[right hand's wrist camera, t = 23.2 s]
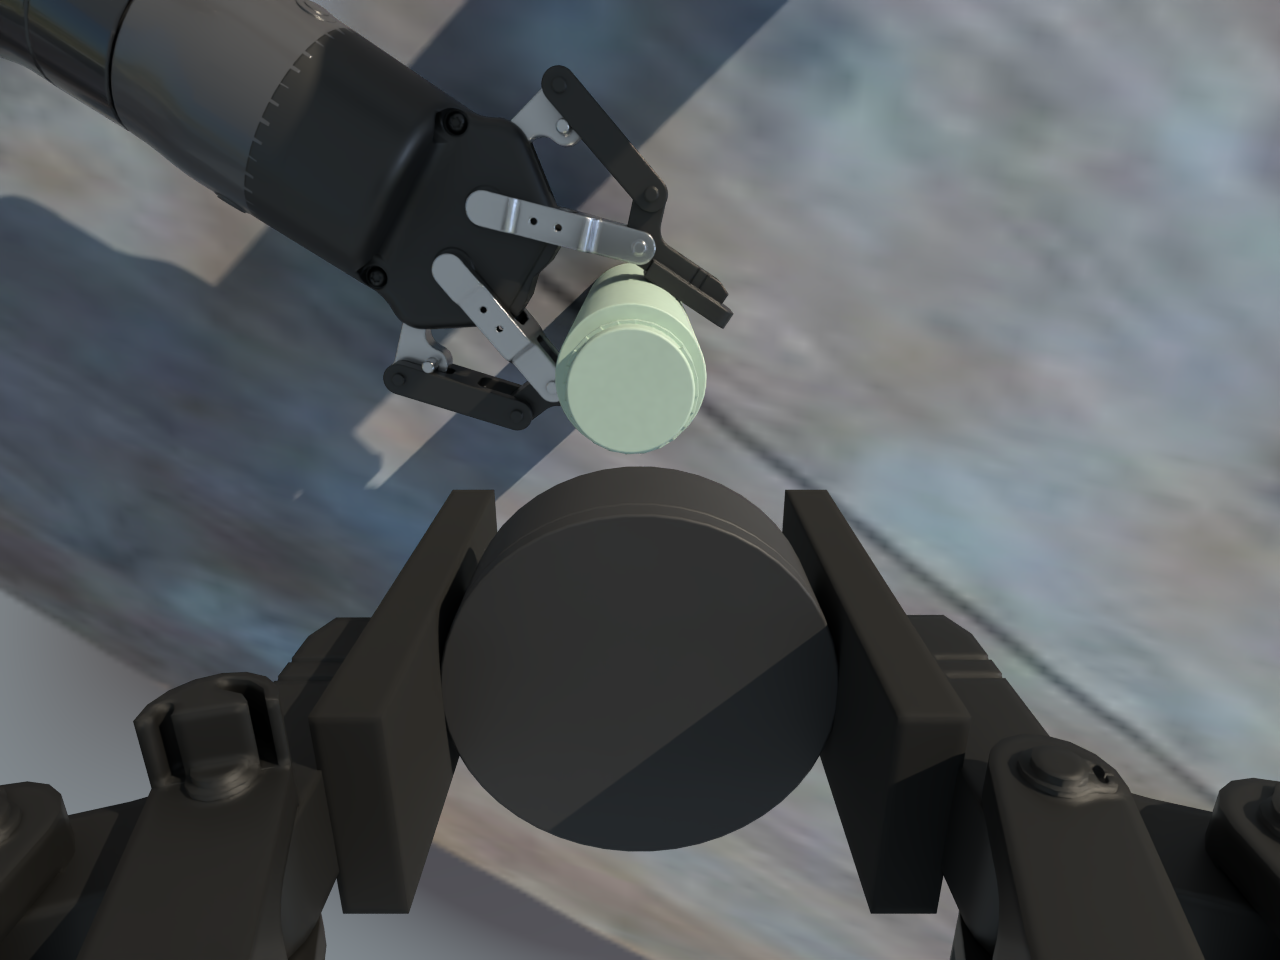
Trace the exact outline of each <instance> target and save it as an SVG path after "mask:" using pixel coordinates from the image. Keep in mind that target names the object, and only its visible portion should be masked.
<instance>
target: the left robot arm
mask: <svg viewBox="0 0 1280 960" xmlns="http://www.w3.org/2000/svg"><path fill="white" fill-rule="evenodd" d="M0 58H3V59H7V60H9V61H12V62H15V63H18V64H20V65H22V66H24V67H26V68H28V69H30V70H32V71H34V72H35V73H37V74H38V75H40V76H41V77H43V78H44V79H46V80H47V81H49V82H50V83H52V84H53V85H55V86H56V87H58V88H59V89H61V90H63V91H64V92H66V93H68V94H69V95H71V96H72V97H74V98H76V99H77V100H79V101H80V102H82V103H84V104H85V105H87V106H89V107H90V108H92V109H93V110H95V111H97V112H98V113H100V114H102V115H103V116H105V117H106V118H108V119H110V120H111V121H113V122H115V123H116V124H118V125H119V126H121V127H123V128H124V129H126V130H128V131H130V132H131V133H133V134H134V135H135V136H137V137H138V138H140V139H141V140H143V141H144V142H146V143H147V144H148V145H150V146H151V147H152V148H154V149H155V150H156V151H158V152H159V153H160V154H161V155H163V156H164V157H165V158H166V159H167V160H169V161H170V162H171V163H172V164H174V165H175V166H176V167H178V168H179V169H180V170H181V171H183V172H184V173H185V174H187V175H188V176H190V177H191V178H193V179H194V180H196V181H197V182H199V183H200V184H202V185H204V186H205V187H207V188H208V189H210V190H212V191H213V192H214V193H215V194H216V195H218V196H217V197H218V198H220V199H221V200H223V201H224V202H226V203H228V204H229V205H231V206H233V207H234V208H236V209H238V210H239V211H241V212H243V213H249V214H251V215H253V216H254V217H256V218H257V219H259V220H261V221H262V222H264V223H266V224H267V225H269V226H270V227H272V228H274V229H275V230H277V231H279V232H280V233H282V234H284V235H285V236H287V237H288V238H290V239H292V240H293V241H295V242H297V243H298V244H300V245H301V246H303V247H305V248H306V249H308V250H310V251H311V252H313V253H314V254H316V255H318V256H319V257H321V258H323V259H324V260H326V261H327V262H329V263H331V264H332V265H334V266H336V267H337V268H339V269H340V270H342V271H344V272H345V273H347V274H349V275H350V276H352V277H354V278H355V279H357V280H358V281H360V282H362V283H363V284H365V285H367V286H369V287H370V288H372V289H374V290H375V291H377V292H378V293H379V294H380V295H381V296H382V297H383V298H384V299H385V300H386V301H387V302H388V304H389V305H390V307H391V308H392V310H393V312H394V313H395V315H396V316H397V317H398V318H399V319H400V320H401V321H402V322H403V325H402V329H401V334H400V339H399V343H398V348H397V352H396V357H395V361H394V363H393V364H392V365H391V366H389V367H388V368H387V369H386V370H385V372H384V376H383V380H384V384H385V386H386V387H387V388H388V389H389V390H390V391H391V392H393V393H395V394H398V395H401V396H405V397H408V398H411V399H414V400H418V401H421V402H424V403H427V404H431V405H434V406H437V407H441V408H444V409H447V410H450V411H454V412H457V413H460V414H463V415H467V416H470V417H473V418H477V419H480V420H483V421H486V422H490V423H493V424H496V425H499V426H503V427H506V428H509V429H513V430H522V429H525V428H526V427H527V426H528V425H529V424H530V422H531V420H533V419H534V418H535V417H537V416H538V415H539V414H541V413H542V412H543V411H545V410H546V409H547V408H549V407H552V406H561V404H560V402H559V399H558V395H557V391H556V385H555V370H556V363H557V359H558V355H559V352H558V350H557V349H556V348H555V347H554V346H553V344H552V343H551V342H550V341H549V339H548V338H547V337H546V336H545V334H544V333H543V331H542V328H541V327H540V325H539V324H538V323H537V321H536V320H535V319H534V318H533V316H532V315H531V314H530V313H529V312H528V310H527V309H526V308H525V307H526V306H527V304H528V302H529V301H530V299H531V297H532V295H533V294H534V290H535V287H536V283H537V279H538V276H539V273H540V272H541V271H542V270H543V269H544V268H545V267H546V266H547V265H548V264H549V263H550V262H551V261H552V260H554V258H555V256H556V254H557V253H558V251H559V249H560V248H561V246H562V247H566V248H569V249H573V250H577V251H582V252H587V253H593V254H597V255H601V256H605V257H609V258H613V259H617V260H620V261H624V262H628V263H632V264H636V265H637V266H639V267H640V268H642V269H643V270H644V271H643V273H644V277H645V278H646V279H648V280H649V281H651V282H652V283H654V284H656V285H657V286H659V287H660V288H662V289H664V290H665V291H667V292H668V293H669V294H671V295H672V296H674V297H675V298H677V299H678V300H680V301H681V302H683V303H684V304H686V305H687V306H689V307H690V308H692V309H693V310H695V311H696V312H698V313H699V314H701V315H702V316H704V317H705V318H707V319H708V320H710V321H711V322H713V323H714V324H716V325H717V326H719V327H721V328H722V329H724V327H725V326H726V324H727V323H728V321H729V320H730V318H731V317H732V315H733V312H732V311H731V310H730V309H729V308H728V307H727V306H725V305H724V304H722V303H723V302H724V300H725V299H726V297H727V296H728V293H727V291H726V290H725V288H724V287H723V285H722V284H721V282H720V281H719V280H718V279H717V278H716V277H714V276H713V275H711V274H710V273H708V272H707V271H705V270H704V269H702V268H701V267H699V266H698V265H696V264H695V263H693V262H692V261H691V260H689V259H688V258H686V257H685V256H683V255H682V254H680V253H679V252H677V251H676V250H674V249H673V248H671V247H670V246H668V245H667V244H666V243H665V242H664V241H663V239H662V236H661V231H660V227H661V222H662V217H663V213H664V209H665V204H666V201H667V198H668V191H667V187H666V185H665V184H664V182H663V181H662V180H661V179H660V177H659V176H658V175H657V174H656V173H655V171H654V170H653V169H652V168H651V167H650V165H649V164H648V163H647V162H646V161H645V159H644V158H643V157H642V156H641V155H640V153H639V152H638V151H637V150H636V149H635V147H634V146H633V145H632V144H631V143H630V141H629V140H628V139H627V138H626V137H625V135H624V134H623V133H622V132H621V131H620V129H619V128H618V127H617V126H616V125H615V123H614V122H613V121H612V120H611V119H610V117H609V116H608V115H607V114H606V113H605V111H604V110H603V109H602V108H601V107H600V105H599V104H598V103H597V102H596V101H595V99H594V98H593V97H592V96H591V95H590V93H589V92H588V91H587V90H586V89H585V87H584V86H583V85H582V84H581V83H580V81H579V80H578V79H577V78H576V77H575V75H574V74H573V73H572V72H571V71H570V70H569V69H568V68H566V67H564V66H560V65H557V66H552V67H550V68H549V69H548V70H547V71H546V72H545V73H544V75H543V78H542V83H541V84H542V88H541V89H540V90H539V92H538V93H537V94H536V95H535V96H534V97H533V98H532V99H531V100H530V101H529V102H528V103H527V104H526V105H525V106H524V107H523V108H522V109H521V110H520V111H519V113H518V114H517V115H516V116H515V117H514V118H513V119H512V120H511V121H509V120H507V119H504V118H494V117H485V116H481V115H478V114H476V113H474V112H473V111H471V110H470V109H468V108H467V107H465V106H464V105H462V104H461V103H459V102H458V101H456V100H455V99H453V98H452V97H450V96H449V95H447V94H446V93H445V92H443V91H442V90H440V89H439V88H437V87H436V86H434V85H433V84H431V83H430V82H428V81H427V80H425V79H424V78H423V77H421V76H420V75H418V74H417V73H415V72H414V71H412V70H411V69H409V68H408V67H406V66H405V65H403V64H402V63H401V62H399V61H398V60H396V59H395V58H393V57H392V56H390V55H389V54H387V53H386V52H384V51H383V50H381V49H380V48H379V47H377V46H376V45H374V44H373V43H371V42H370V41H368V40H367V39H365V38H364V37H362V36H361V35H359V34H358V33H357V32H355V31H354V30H352V29H351V28H349V27H348V26H346V25H345V24H343V23H342V22H340V21H339V20H337V19H336V18H335V17H333V16H332V15H331V14H330V13H329V12H328V11H327V10H326V9H324V8H323V7H321V6H320V5H318V4H316V3H314V2H312V1H310V0H0ZM541 137H547V138H550V139H552V140H553V141H554V142H555V143H557V144H558V145H560V146H563V147H572V146H574V145H576V144H577V143H578V142H579V141H580V140H581V139H582V140H583V141H584V143H585V144H586V145H587V146H588V147H589V148H590V150H591V151H592V152H593V153H594V154H595V155H596V157H597V158H598V159H599V160H600V161H601V162H602V164H603V165H604V166H605V167H606V168H607V170H608V171H609V172H610V173H611V174H612V175H613V177H614V178H615V179H616V180H617V181H618V182H619V184H620V185H621V186H622V187H623V188H624V189H625V191H626V192H627V193H628V194H629V195H630V196H631V198H632V199H633V202H632V207H631V211H630V216H629V221H628V225H627V224H623V223H619V222H616V221H612V220H608V219H604V218H601V217H598V216H594V215H591V214H587V213H583V212H579V211H576V210H572V209H568V208H564V207H560V206H557V204H556V201H555V199H554V196H553V194H552V191H551V189H550V186H549V184H548V181H547V179H546V176H545V174H544V171H543V169H542V166H541V164H540V161H539V159H538V156H537V154H536V151H535V149H534V146H533V144H532V142H533V141H534V140H536V139H537V138H541ZM499 326H501V328H502V329H503V330H500V329H499ZM461 327H478V328H479V329H480V330H481V332H482V333H483V334H484V335H485V336H486V337H487V339H488V340H489V341H490V342H491V343H492V344H493V346H494V347H495V348H496V349H497V350H498V351H499V353H500V354H501V355H502V356H503V357H504V358H505V359H506V360H507V361H509V362H511V363H512V364H514V365H515V366H516V367H517V369H518V370H519V371H520V372H521V373H522V374H523V376H524V377H525V378H526V379H527V380H528V381H527V382H526V383H525V384H523V385H519V384H516V383H513V382H510V381H506V380H503V379H500V378H497V377H494V376H490V375H487V374H484V373H481V372H478V371H474V370H471V369H468V368H465V367H462V366H458V365H455V364H452V363H453V358H452V355H451V353H450V351H449V350H448V349H447V348H446V347H444V346H442V345H440V344H438V343H437V342H436V341H435V340H434V338H433V336H432V334H431V329H442V328H461Z"/></svg>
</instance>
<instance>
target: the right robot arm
mask: <svg viewBox="0 0 1280 960" xmlns="http://www.w3.org/2000/svg"><path fill="white" fill-rule="evenodd" d="M782 533H783V534H784V536H785V537H786V538H787V540H788V541H789V542H790V544H791V546H792V548H793V550H794V551H795V553H796V555H797V557H798V558H799V560H800V563H801V565H802V567H803V569H804V572H805V574H806V576H807V578H808V581H809V583H810V585H811V588H812V590H813V592H814V594H815V597H816V599H817V601H818V603H819V606H820V608H821V610H822V612H823V615H824V617H825V619H826V622H827V625H828V627H829V630H830V632H831V635H832V638H833V640H834V644H835V649H836V654H837V659H838V664H839V680H838V691H837V701H836V710H835V718H834V722H833V726H832V730H831V732H830V734H829V737H828V739H827V741H826V744H825V746H824V748H823V751H822V752H821V754H820V757H821V760H822V764H823V767H824V770H825V773H826V776H827V779H828V782H829V785H830V788H831V791H832V795H833V798H834V801H835V804H836V807H837V810H838V813H839V816H840V819H841V822H842V826H843V829H844V832H845V835H846V838H847V841H848V844H849V847H850V850H851V853H852V857H853V860H854V863H855V866H856V869H857V872H858V875H859V878H860V881H861V884H862V888H863V891H864V894H865V897H866V900H867V903H868V906H869V909H870V912H871V914H936V913H937V908H938V902H939V897H940V891H941V886H942V880H943V875H944V878H945V880H946V882H947V884H948V886H949V889H950V891H951V893H952V895H953V898H954V900H955V902H956V904H957V907H958V909H959V915H958V920H957V925H956V930H955V935H954V941H953V946H952V951H951V956H950V960H1280V782H1278V781H1271V780H1264V779H1257V778H1249V779H1242V780H1234V781H1231V782H1229V783H1228V784H1227V785H1226V786H1225V787H1223V788H1222V789H1221V790H1220V791H1219V794H1218V797H1217V800H1216V803H1215V806H1214V809H1213V812H1210V811H1205V810H1201V809H1196V808H1192V807H1187V806H1182V805H1178V804H1173V803H1169V802H1164V801H1159V800H1155V799H1150V798H1147V797H1143V796H1140V795H1136V794H1133V793H1131V792H1130V790H1129V788H1128V786H1127V785H1126V783H1125V782H1124V781H1123V779H1122V778H1121V776H1120V775H1119V774H1118V772H1117V771H1116V770H1115V769H1114V768H1113V767H1111V766H1110V765H1109V764H1107V763H1106V762H1105V761H1103V760H1102V759H1101V758H1100V757H1098V756H1097V755H1096V754H1094V753H1092V752H1090V751H1088V750H1086V749H1083V748H1081V747H1079V746H1077V745H1075V744H1073V743H1071V742H1068V741H1064V740H1060V739H1057V738H1053V737H1050V736H1049V735H1048V734H1047V732H1046V731H1045V730H1044V728H1043V727H1042V726H1041V724H1040V723H1039V722H1038V721H1037V719H1036V718H1035V717H1034V715H1033V714H1032V713H1031V711H1030V710H1029V709H1028V707H1027V706H1026V705H1025V703H1024V702H1023V701H1022V699H1021V698H1020V697H1019V696H1018V694H1017V693H1016V692H1015V690H1014V689H1013V688H1012V686H1011V685H1010V684H1009V682H1008V681H1007V680H1006V678H1002V673H1001V672H1000V671H999V669H998V668H997V667H996V665H995V664H994V663H993V661H992V660H988V655H987V653H986V652H985V651H984V650H983V648H982V647H981V646H980V644H979V643H978V642H977V640H976V639H975V638H974V636H973V635H972V634H971V633H970V632H968V631H967V630H965V629H964V628H962V627H961V626H959V625H958V624H956V623H955V622H953V621H952V620H950V619H949V618H947V617H945V616H944V615H906V614H905V612H904V610H903V609H902V607H901V606H900V604H899V603H898V601H897V599H896V598H895V596H894V595H893V593H892V592H891V590H890V588H889V587H888V585H887V584H886V582H885V581H884V579H883V577H882V576H881V574H880V573H879V571H878V570H877V568H876V567H875V565H874V563H873V562H872V560H871V559H870V557H869V556H868V554H867V552H866V551H865V549H864V548H863V546H862V545H861V543H860V541H859V540H858V538H857V537H856V535H855V534H854V532H853V531H852V529H851V527H850V526H849V524H848V523H847V521H846V520H845V518H844V516H843V515H842V513H841V512H840V510H839V509H838V507H837V505H836V504H835V502H834V501H833V499H832V498H831V496H830V494H829V493H828V491H827V490H785V501H784V516H783V530H782ZM496 534H497V522H496V508H495V494H494V490H453V491H452V492H451V494H450V495H449V497H448V498H447V500H446V502H445V503H444V505H443V506H442V508H441V509H440V511H439V513H438V514H437V516H436V517H435V519H434V520H433V522H432V523H431V525H430V527H429V528H428V530H427V531H426V533H425V534H424V536H423V538H422V539H421V541H420V542H419V544H418V545H417V547H416V549H415V550H414V552H413V553H412V555H411V556H410V558H409V559H408V561H407V563H406V564H405V566H404V567H403V569H402V570H401V572H400V574H399V575H398V577H397V578H396V580H395V581H394V583H393V585H392V586H391V588H390V589H389V591H388V592H387V594H386V595H385V597H384V599H383V600H382V602H381V603H380V605H379V606H378V608H377V610H376V611H375V613H374V614H373V616H372V617H371V618H335V619H334V620H332V621H331V622H329V623H328V624H326V625H325V626H323V627H322V628H320V629H319V630H317V631H316V632H314V633H313V634H311V635H310V636H308V638H307V639H306V640H305V641H304V643H303V644H302V645H301V647H300V648H299V649H298V651H297V652H296V653H295V655H294V656H293V657H292V662H289V663H288V664H287V665H286V667H285V668H284V669H283V671H282V672H281V673H280V675H279V676H278V681H274V683H273V682H272V681H271V680H270V679H268V678H267V677H266V676H262V675H257V674H253V673H248V672H238V673H221V674H217V675H212V676H208V677H204V678H199V679H195V680H193V681H190V682H188V683H186V684H183V685H181V686H178V687H176V688H174V689H171V690H169V691H167V692H166V693H164V694H163V695H161V696H160V697H158V698H157V699H155V700H154V701H152V702H151V703H149V704H148V705H147V706H146V707H145V708H144V709H143V710H142V712H141V713H140V714H139V715H138V716H137V717H136V719H135V720H134V721H133V722H134V726H135V730H136V733H137V737H138V740H139V744H140V748H141V751H142V755H143V759H144V762H145V766H146V769H147V773H148V777H149V781H150V784H151V788H152V789H151V791H150V793H149V796H148V797H145V798H142V799H138V800H135V801H131V802H127V803H123V804H118V805H113V806H108V807H104V808H99V809H95V810H90V811H86V812H81V813H77V814H72V815H68V814H67V811H66V808H65V805H64V802H63V799H62V796H61V794H60V793H59V792H58V791H56V790H55V789H54V788H53V787H52V786H50V785H49V784H42V783H35V782H20V783H13V784H6V785H0V960H325V953H326V939H325V931H324V925H323V920H322V915H321V912H322V909H323V907H324V905H325V903H326V900H327V898H328V896H329V894H330V891H331V889H332V887H333V885H334V882H335V880H336V878H337V883H338V888H339V894H340V899H341V905H342V910H343V913H344V914H408V913H409V911H410V908H411V905H412V902H413V899H414V895H415V892H416V889H417V886H418V883H419V880H420V877H421V874H422V871H423V867H424V864H425V861H426V858H427V855H428V852H429V849H430V846H431V843H432V840H433V836H434V833H435V830H436V827H437V824H438V821H439V818H440V815H441V812H442V809H443V805H444V802H445V799H446V796H447V793H448V790H449V787H450V784H451V781H452V778H453V774H454V771H455V768H456V765H457V762H458V759H459V756H460V755H459V754H458V752H457V750H456V748H455V746H454V743H453V741H452V739H451V736H450V734H449V732H448V729H447V725H446V721H445V714H444V706H443V696H442V687H441V671H440V667H441V660H442V655H443V650H444V645H445V641H446V638H447V636H448V633H449V630H450V628H451V625H452V622H453V620H454V617H455V615H456V613H457V611H458V609H459V606H460V604H461V602H462V599H463V597H464V595H465V593H466V590H467V588H468V586H469V584H470V581H471V579H472V577H473V574H474V572H475V570H476V568H477V565H478V563H479V561H480V559H481V557H482V555H483V554H484V552H485V550H486V548H487V546H488V545H489V543H490V541H491V540H492V539H493V537H494V536H495V535H496Z"/></svg>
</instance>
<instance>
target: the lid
mask: <svg viewBox="0 0 1280 960" xmlns="http://www.w3.org/2000/svg"><path fill="white" fill-rule="evenodd" d="M440 671H441V687H442V696H443V706H444V714H445V721H446V725H447V729H448V732H449V734H450V736H451V739H452V741H453V743H454V746H455V748H456V750H457V752H458V754H459V755H460V757H461V759H462V760H463V762H464V763H465V765H466V767H467V768H468V770H469V771H470V772H471V774H472V775H473V776H474V777H475V778H476V780H477V781H478V782H479V783H480V785H481V786H482V787H483V788H484V789H485V790H486V791H487V792H488V793H489V794H490V795H491V796H492V797H493V798H495V799H496V800H497V801H498V802H499V803H500V804H501V805H503V806H504V807H505V808H507V809H508V810H510V811H511V812H512V813H514V814H515V815H516V816H518V817H519V818H521V819H523V820H525V821H526V822H528V823H530V824H532V825H533V826H535V827H537V828H539V829H541V830H544V831H546V832H548V833H550V834H553V835H555V836H557V837H560V838H563V839H566V840H569V841H573V842H576V843H579V844H583V845H588V846H592V847H597V848H602V849H610V850H620V851H659V850H669V849H677V848H682V847H687V846H692V845H696V844H700V843H704V842H707V841H710V840H713V839H716V838H719V837H722V836H724V835H727V834H729V833H731V832H733V831H736V830H738V829H740V828H742V827H744V826H746V825H748V824H749V823H751V822H753V821H755V820H756V819H758V818H760V817H761V816H763V815H764V814H766V813H767V812H768V811H770V810H771V809H772V808H774V807H775V806H776V805H778V804H779V803H780V802H782V801H783V800H784V799H785V798H786V797H787V796H788V795H789V794H790V793H791V792H792V791H793V790H794V789H795V788H796V787H797V786H798V785H799V784H800V783H801V781H802V780H803V779H804V778H805V776H806V775H807V774H808V773H809V771H810V770H811V769H812V767H813V766H814V764H815V762H816V761H817V759H818V757H819V756H820V754H821V752H822V751H823V748H824V746H825V744H826V741H827V739H828V737H829V734H830V732H831V730H832V726H833V722H834V718H835V710H836V701H837V691H838V680H839V664H838V659H837V654H836V649H835V644H834V640H833V638H832V635H831V632H830V630H829V627H828V625H827V622H826V619H825V617H824V615H823V612H822V610H821V608H820V606H819V603H818V601H817V599H816V597H815V594H814V592H813V590H812V588H811V585H810V583H809V581H808V578H807V576H806V574H805V572H804V569H803V567H802V565H801V563H800V560H799V558H798V557H797V555H796V553H795V551H794V550H793V548H792V546H791V544H790V542H789V541H788V540H787V538H786V537H785V536H784V534H783V533H782V532H781V531H780V529H779V528H778V527H777V525H776V524H775V523H774V522H773V521H772V520H771V519H770V518H769V517H768V516H767V515H766V514H765V513H763V512H762V511H761V510H760V509H759V508H758V507H757V506H755V505H754V504H752V503H751V502H750V501H748V500H747V499H746V498H744V497H743V496H742V495H740V494H738V493H736V492H734V491H733V490H731V489H729V488H727V487H725V486H723V485H722V484H719V483H717V482H714V481H712V480H709V479H707V478H704V477H701V476H699V475H695V474H691V473H687V472H683V471H679V470H674V469H666V468H658V467H621V468H613V469H605V470H600V471H596V472H592V473H588V474H585V475H581V476H578V477H575V478H573V479H570V480H568V481H565V482H563V483H560V484H558V485H556V486H554V487H552V488H550V489H549V490H547V491H545V492H543V493H541V494H540V495H538V496H536V497H535V498H534V499H532V500H531V501H530V502H528V503H527V504H525V505H524V506H523V507H521V508H520V509H519V510H518V511H517V512H516V513H515V514H514V515H513V516H512V517H511V518H510V519H509V520H508V521H507V522H506V523H505V524H504V525H503V526H502V527H501V528H500V530H499V531H498V532H497V534H496V535H495V536H494V537H493V539H492V540H491V541H490V543H489V545H488V546H487V548H486V550H485V552H484V554H483V555H482V557H481V559H480V561H479V563H478V565H477V568H476V570H475V572H474V574H473V577H472V579H471V581H470V584H469V586H468V588H467V590H466V593H465V595H464V597H463V599H462V602H461V604H460V606H459V609H458V611H457V613H456V615H455V617H454V620H453V622H452V625H451V628H450V630H449V633H448V636H447V638H446V641H445V645H444V650H443V655H442V660H441V667H440Z"/></svg>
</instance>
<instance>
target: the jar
mask: <svg viewBox="0 0 1280 960" xmlns="http://www.w3.org/2000/svg"><path fill="white" fill-rule="evenodd" d="M643 271H644V270H643V269H642V268H640V267H639V266H637V265H636V264H632V263H627V264H621V265H618V266H615V267H613V268H611V269H609V270H607V271H606V272H605V273H603V274H602V275H601V276H600V277H599V278H598V279H597V280H596V281H595V283H594V284H593V285H592V287H591V289H590V291H589V293H588V295H587V297H586V299H585V301H584V303H583V305H582V307H581V309H580V311H579V313H578V315H577V317H576V319H575V321H574V323H573V325H572V327H571V329H570V331H569V333H568V335H567V337H566V339H565V341H564V343H563V345H562V347H561V350H560V352H559V355H558V359H557V363H556V370H555V385H556V391H557V395H558V399H559V402H560V404H561V407H562V409H563V411H564V413H565V414H566V416H567V418H568V419H569V421H570V422H571V423H572V424H573V426H574V427H575V428H576V429H577V430H578V431H579V432H580V433H581V434H583V435H584V436H585V437H587V438H588V439H590V440H591V441H592V442H593V443H595V444H597V445H599V446H601V447H603V448H605V449H608V450H609V451H614V452H619V453H624V454H637V453H646V452H649V451H652V450H655V449H658V448H659V449H660V448H661V447H663V446H664V445H666V444H668V443H669V442H671V441H672V440H674V439H675V438H676V437H677V436H678V435H679V434H680V433H681V432H682V431H684V430H685V429H686V428H687V426H688V425H689V424H690V423H691V422H692V420H693V419H694V417H695V416H696V414H697V412H698V410H699V408H700V406H701V404H702V401H703V398H704V394H705V388H706V366H705V361H704V357H703V354H702V351H701V349H700V346H699V344H698V341H697V339H696V336H695V334H694V331H693V329H692V327H691V324H690V322H689V319H688V317H687V314H686V312H685V309H684V307H683V305H682V302H681V301H680V300H678V299H677V298H675V297H674V296H672V295H671V294H669V293H668V292H667V291H665V290H664V289H662V288H660V287H659V286H657V285H656V284H654V283H652V282H651V281H649V280H648V279H646V278H645V277H644V273H643Z"/></svg>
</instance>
